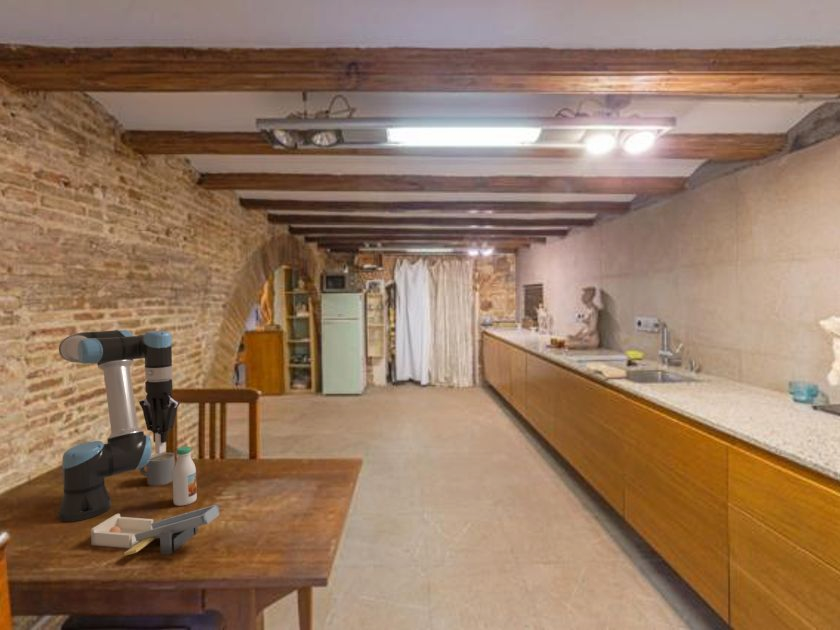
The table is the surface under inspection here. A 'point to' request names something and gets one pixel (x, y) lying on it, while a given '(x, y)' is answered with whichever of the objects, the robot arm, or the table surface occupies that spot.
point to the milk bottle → (184, 478)
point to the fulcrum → (174, 540)
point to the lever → (175, 525)
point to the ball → (115, 529)
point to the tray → (127, 531)
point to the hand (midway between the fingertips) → (160, 452)
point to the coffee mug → (159, 469)
